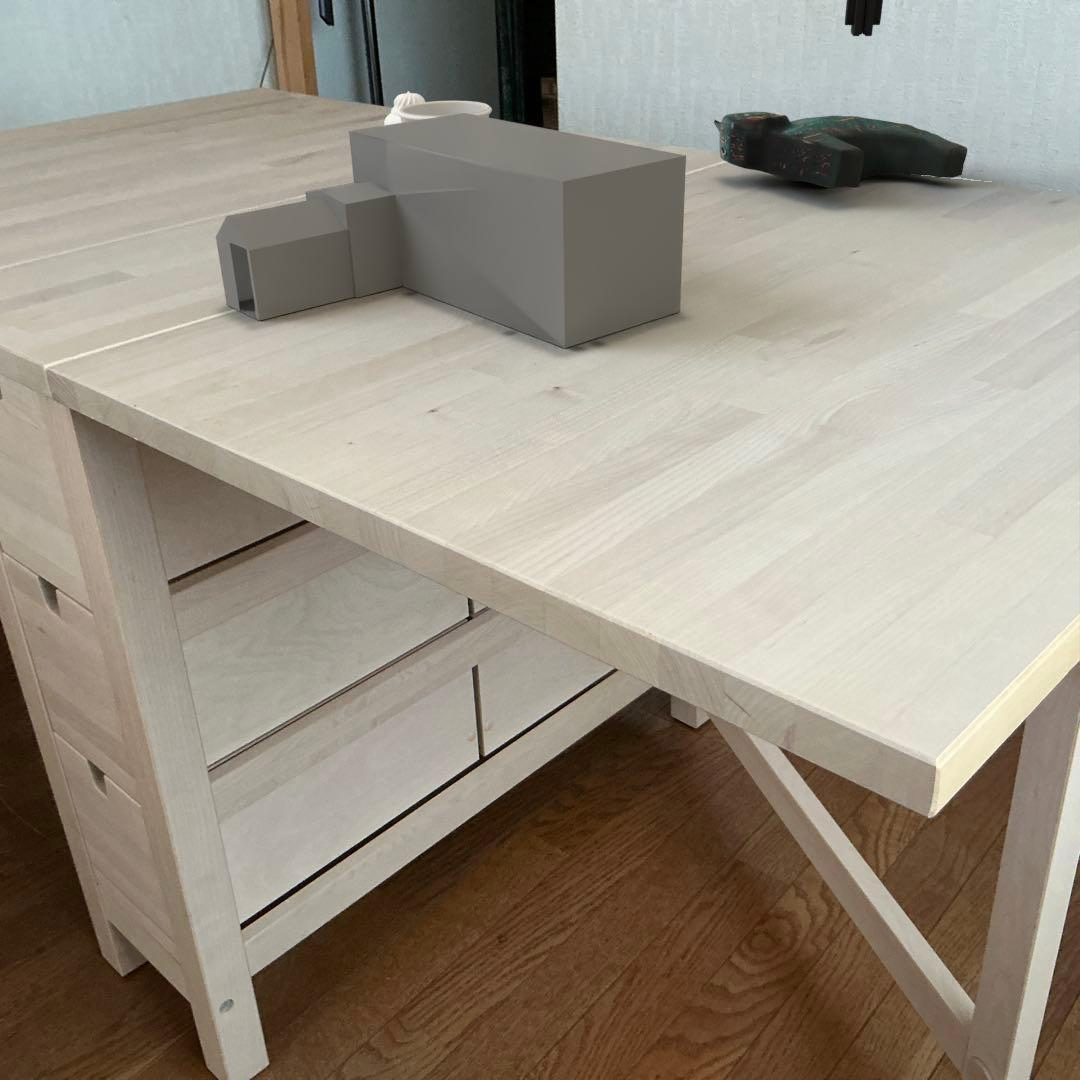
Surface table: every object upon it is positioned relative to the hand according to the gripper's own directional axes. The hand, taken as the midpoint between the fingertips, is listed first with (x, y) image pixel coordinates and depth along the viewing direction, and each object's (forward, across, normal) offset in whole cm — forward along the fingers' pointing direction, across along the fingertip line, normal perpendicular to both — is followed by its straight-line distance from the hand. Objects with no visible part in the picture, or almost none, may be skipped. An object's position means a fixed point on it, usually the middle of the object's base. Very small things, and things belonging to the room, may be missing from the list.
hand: (861, 34), depth 104 cm
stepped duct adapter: (+15, +31, +35) cm, 49 cm away
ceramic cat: (+12, -5, -1) cm, 13 cm away
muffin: (+15, +47, -20) cm, 54 cm away
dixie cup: (+15, +36, +10) cm, 41 cm away
